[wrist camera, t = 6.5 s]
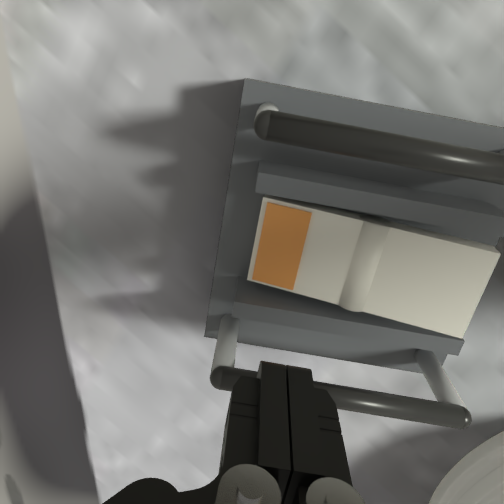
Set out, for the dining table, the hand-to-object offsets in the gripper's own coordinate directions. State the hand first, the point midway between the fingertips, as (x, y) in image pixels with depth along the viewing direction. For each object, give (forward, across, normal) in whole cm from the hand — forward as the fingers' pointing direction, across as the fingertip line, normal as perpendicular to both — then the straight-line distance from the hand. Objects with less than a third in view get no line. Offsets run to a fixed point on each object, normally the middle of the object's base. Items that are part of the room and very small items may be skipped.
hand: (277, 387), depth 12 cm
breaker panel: (+17, -5, 0) cm, 18 cm away
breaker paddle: (+11, -5, 0) cm, 12 cm away
